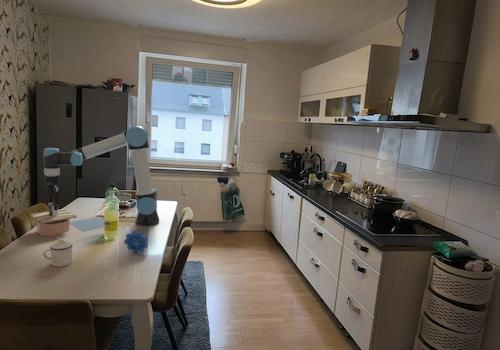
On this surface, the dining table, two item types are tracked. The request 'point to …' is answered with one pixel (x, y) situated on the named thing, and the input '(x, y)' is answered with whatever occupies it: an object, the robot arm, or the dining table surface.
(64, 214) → the oak lid
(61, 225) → the terracotta bowl
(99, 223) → the slate mat
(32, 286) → the dining table surface
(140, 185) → the robot arm
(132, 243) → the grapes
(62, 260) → the teacup with lid
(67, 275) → the dining table surface
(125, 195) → the food container
